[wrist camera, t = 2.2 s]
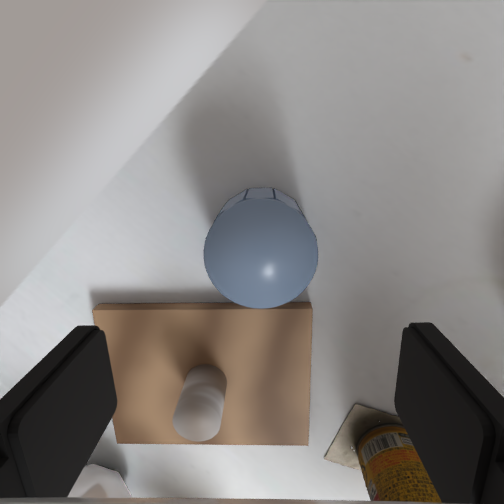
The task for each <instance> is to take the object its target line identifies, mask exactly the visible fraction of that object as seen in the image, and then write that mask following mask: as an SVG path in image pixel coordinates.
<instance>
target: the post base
mask: <svg viewBox="0 0 504 504" xmlns="http://www.w3.org/2000/svg"><path fill="white" fill-rule="evenodd" d="M92 312H93V318H94V323H95V326H98V327H99V328H100V330H103V331H104V332H105V335H106V341H107V346H108V352H109V357H110V363H111V368H112V373H113V379H114V384H115V390H116V395H117V408H116V411H115V413H114V415H113V416H112V419H113V424H114V429H115V435H116V440H117V444H212V445H306V446H308V437H309V406H310V375H311V343H312V312H313V309H312V305H311V302H287V303H285V304H283V305H280V306H277V307H272V308H264V309H258V308H250V307H245V306H242V305H239V304H237V303H134V304H98V305H97V306H96V307H95V308H94V309H93V310H92Z"/></svg>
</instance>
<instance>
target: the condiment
mask: <svg viewBox="0 0 504 504" xmlns="http://www.w3.org/2000/svg"><path fill="white" fill-rule="evenodd" d="M379 421H380V422H379ZM351 446H352V447H353V449H354V450H355V452H353V449H351ZM324 459H325V460H328V461H331V462H334V463H338V464H341V465H343V466H348V467H351V468H353V469H358V470H362V474H363V478H364V480H365V484H366V487H367V491H368V494H369V497H370V500H371V501H399V502H430V503H442V502H441V500H440V498H439V496H438V494H437V492H436V490H435V488H434V486H433V484H432V482H431V480H430V478H429V476H428V474H427V472H426V470H425V468H424V466H423V464H422V462H421V460H420V458H419V456H418V454H417V452H416V450H415V448H414V446H413V444H412V442H411V440H410V438H409V436H408V434H407V432H406V430H405V428H404V426H403V424H402V422H401V420H400V418H399V417H398V416H395V415H389V414H387V413H385V412H381V411H378V410H376V409H372V408H367V407H364V406H361V405H358V404H355V406H354V407H353V409H352V410H351V411H350V413H349V415H348V417H347V418H346V420H345V422H344V423H343V425H342V427H341V429H340V431H339V432H338V434H337V435H336V437H335V440H334V442H333V444H332V445H331V447H330V449H329V451H328V453H327V455H326V457H325V458H324Z"/></svg>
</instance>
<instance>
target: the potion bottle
mask: <svg viewBox="0 0 504 504" xmlns="http://www.w3.org/2000/svg"><path fill="white" fill-rule="evenodd" d="M68 497H96V498H132V494H131V492H130V491H129V489H128V487H127V485H126V484H125V482H124V480H123V479H122V477H121V475H120V474H119V472H117V471H114V470H111V469H108V468H105V467H101V466H98V465H95V464H91V465H87V466H84V468H83V470H82V472H81V474H80V475H79V477H78V479H77V481H76V482H75V484H74V486H73V488H72V490H71V491H70V493H69V495H68Z"/></svg>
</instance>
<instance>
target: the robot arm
mask: <svg viewBox="0 0 504 504" xmlns="http://www.w3.org/2000/svg"><path fill="white" fill-rule="evenodd" d="M394 402H395V408H396V412H397V414H398V416H399V418H400V420H401V422H402V424H403V426H404V428H405V430H406V432H407V434H408V436H409V438H410V440H411V442H412V444H413V446H414V448H415V450H416V452H417V454H418V456H419V458H420V460H421V462H422V464H423V466H424V468H425V470H426V472H427V474H428V476H429V478H430V480H431V482H432V484H433V486H434V488H435V490H436V492H437V494H438V496H439V498H440V500H441V502H442V503H430V502H399V501H346V500H291V499H216V498H96V497H68V495H69V493H70V491H71V490H72V488H73V486H74V484H75V482H76V481H77V479H78V477H79V475H80V474H81V472H82V470H83V468H84V466H85V465H86V463H87V461H88V459H89V457H90V456H91V454H92V452H93V450H94V449H95V447H96V445H97V443H98V441H99V440H100V438H101V436H102V434H103V432H104V431H105V429H106V427H107V425H108V424H109V422H110V420H111V418H112V416H113V415H114V413H115V411H116V408H117V395H116V390H115V384H114V379H113V373H112V368H111V363H110V357H109V352H108V346H107V341H106V335H105V332H104V331H103V330H100V328H99V327H98V326H77V327H75V328H74V329H73V330H72V331H71V332H70V333H69V334H68V335H67V336H66V337H65V338H64V339H63V340H62V341H61V342H60V343H59V344H58V345H57V346H56V347H55V348H53V349H52V350H51V351H50V352H49V353H48V354H47V355H46V356H45V357H44V358H43V359H42V360H41V361H40V362H39V363H38V364H37V365H36V366H35V367H34V368H33V369H32V370H31V371H29V372H28V373H27V374H26V375H25V376H24V377H23V378H22V379H21V380H20V381H19V382H18V383H17V384H16V385H15V386H14V387H13V388H12V389H11V390H10V391H9V392H8V393H7V394H6V395H4V396H3V397H2V398H1V399H0V504H504V398H503V396H502V395H501V394H500V393H499V392H498V391H497V390H496V389H495V388H494V387H493V386H492V385H491V384H490V383H489V382H488V381H487V380H486V379H485V378H484V377H483V376H482V375H481V374H480V372H479V371H478V370H477V369H476V368H475V367H474V366H473V365H472V364H471V363H470V362H469V361H468V360H467V359H466V358H465V357H464V356H463V355H462V354H461V353H460V352H459V351H458V349H457V348H456V347H455V346H454V345H453V344H452V343H451V342H450V341H449V340H448V339H447V338H446V337H445V336H444V335H443V334H442V333H441V332H440V331H439V330H438V329H437V328H436V326H435V325H434V324H432V323H410V324H409V327H406V328H404V329H403V333H402V341H401V350H400V358H399V366H398V374H397V382H396V391H395V400H394Z"/></svg>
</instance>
